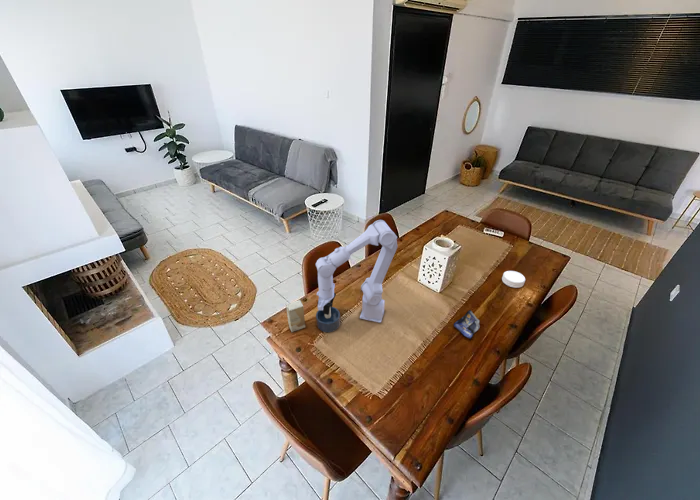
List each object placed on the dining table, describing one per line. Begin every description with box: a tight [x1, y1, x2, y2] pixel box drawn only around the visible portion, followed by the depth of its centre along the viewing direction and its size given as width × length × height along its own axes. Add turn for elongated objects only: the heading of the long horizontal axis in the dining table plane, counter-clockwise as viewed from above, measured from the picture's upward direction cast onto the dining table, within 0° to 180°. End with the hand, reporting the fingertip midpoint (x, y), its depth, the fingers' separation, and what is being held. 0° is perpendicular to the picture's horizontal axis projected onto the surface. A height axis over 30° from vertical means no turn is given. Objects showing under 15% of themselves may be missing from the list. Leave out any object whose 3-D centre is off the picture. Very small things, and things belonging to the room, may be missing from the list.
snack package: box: [453, 309, 481, 340], centre depth 124 cm, size 12×6×12 cm
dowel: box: [325, 301, 331, 318], centre depth 125 cm, size 3×3×8 cm
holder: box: [315, 306, 341, 333], centre depth 128 cm, size 10×10×5 cm
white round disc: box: [501, 270, 526, 289], centre depth 150 cm, size 10×10×4 cm
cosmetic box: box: [285, 299, 306, 333], centre depth 124 cm, size 6×4×12 cm
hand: (327, 311), depth 125 cm, fingers closed on dowel, 2 cm apart
